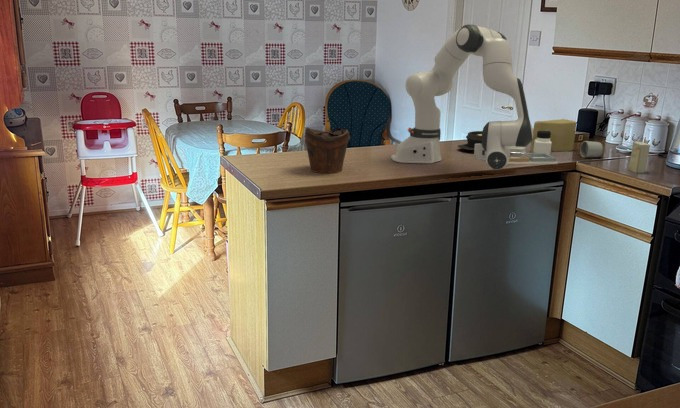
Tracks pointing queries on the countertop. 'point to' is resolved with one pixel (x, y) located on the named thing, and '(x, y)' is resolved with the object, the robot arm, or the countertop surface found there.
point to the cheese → (557, 133)
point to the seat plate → (533, 159)
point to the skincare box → (639, 157)
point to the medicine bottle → (543, 142)
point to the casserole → (472, 140)
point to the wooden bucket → (326, 149)
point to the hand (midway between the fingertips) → (500, 146)
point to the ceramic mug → (591, 149)
